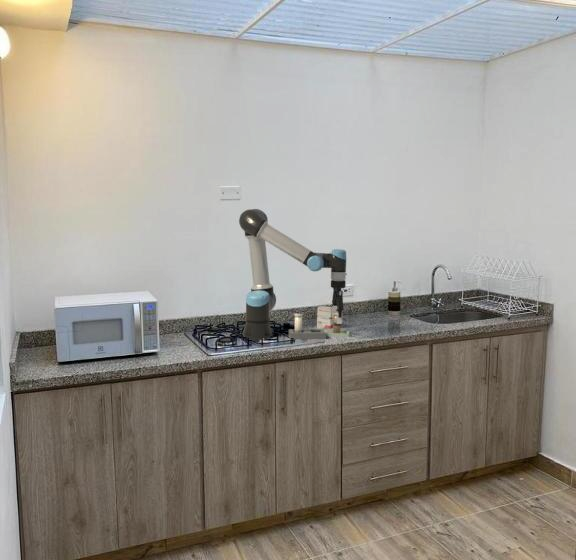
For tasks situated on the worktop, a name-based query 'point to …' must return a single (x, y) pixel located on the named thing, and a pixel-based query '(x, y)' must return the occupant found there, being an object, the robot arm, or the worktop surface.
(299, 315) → the cylinder
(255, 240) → the robot arm
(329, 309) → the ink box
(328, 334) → the parts tray
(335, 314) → the fuse
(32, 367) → the worktop surface
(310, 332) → the fuse block
